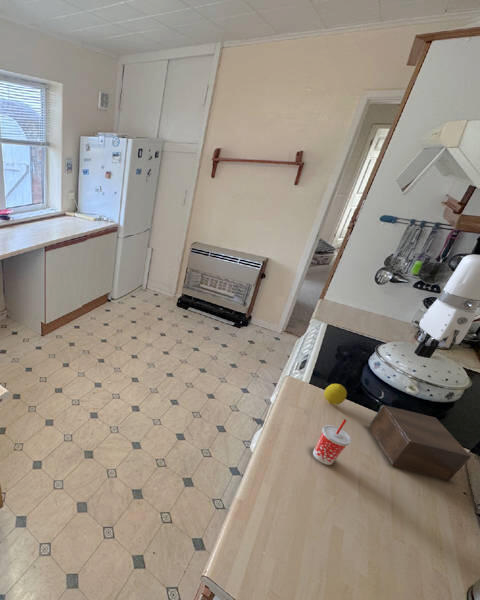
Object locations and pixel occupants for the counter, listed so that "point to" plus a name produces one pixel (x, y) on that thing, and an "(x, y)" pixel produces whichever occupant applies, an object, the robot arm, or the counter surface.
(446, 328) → the robot arm
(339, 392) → the lemon
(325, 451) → the beverage cup
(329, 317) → the counter surface
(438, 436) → the cabinet
